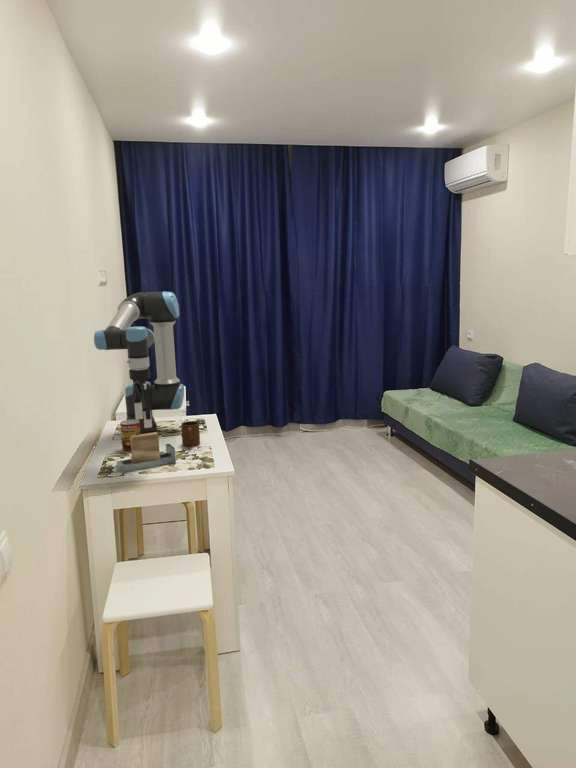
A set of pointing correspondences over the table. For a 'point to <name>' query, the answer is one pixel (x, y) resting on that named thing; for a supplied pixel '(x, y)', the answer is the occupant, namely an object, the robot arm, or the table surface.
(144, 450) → the door panel
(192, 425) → the mug
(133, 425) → the canned food
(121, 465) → the track
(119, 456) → the table surface
